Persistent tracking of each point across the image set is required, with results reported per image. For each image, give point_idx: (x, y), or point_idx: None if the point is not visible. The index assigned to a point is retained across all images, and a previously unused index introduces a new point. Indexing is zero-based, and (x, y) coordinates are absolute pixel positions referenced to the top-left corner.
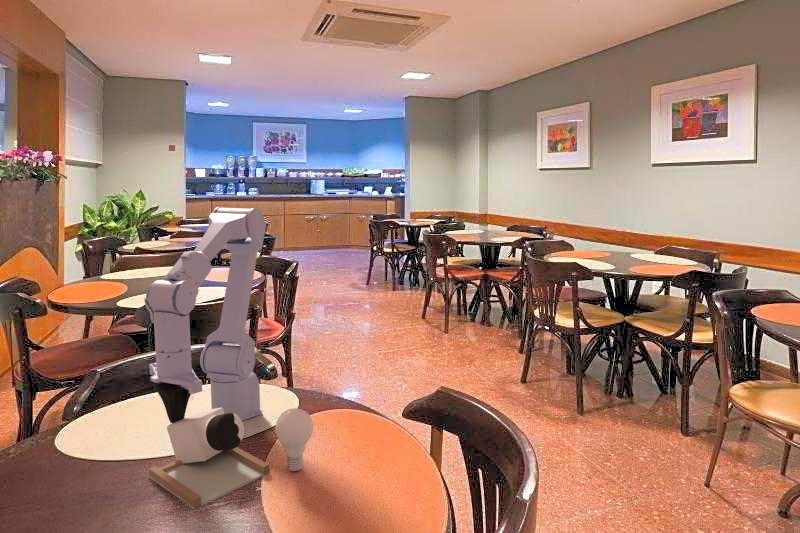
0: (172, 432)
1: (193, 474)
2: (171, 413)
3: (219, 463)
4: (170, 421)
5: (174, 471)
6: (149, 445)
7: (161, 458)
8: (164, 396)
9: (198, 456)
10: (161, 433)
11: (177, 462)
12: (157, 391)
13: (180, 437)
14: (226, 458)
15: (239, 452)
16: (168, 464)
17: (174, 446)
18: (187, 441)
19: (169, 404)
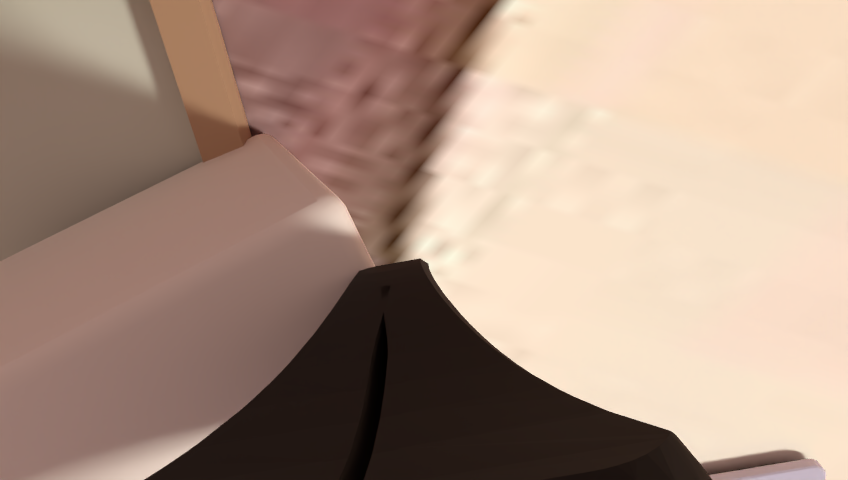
0: (245, 211)
1: (27, 169)
2: (319, 328)
3: None
4: (403, 265)
5: (135, 76)
6: (704, 58)
7: (435, 68)
8: (325, 449)
9: (13, 263)
10: (820, 186)
11: (208, 129)
12: (589, 424)
13: (150, 242)
14: None
15: None
16: (212, 65)
17: (257, 167)
18: (74, 268)
19: (265, 399)
